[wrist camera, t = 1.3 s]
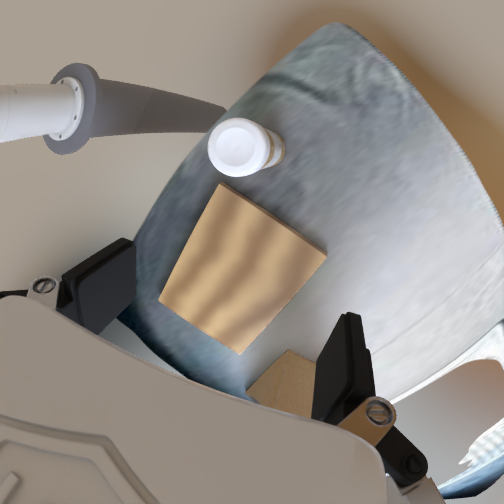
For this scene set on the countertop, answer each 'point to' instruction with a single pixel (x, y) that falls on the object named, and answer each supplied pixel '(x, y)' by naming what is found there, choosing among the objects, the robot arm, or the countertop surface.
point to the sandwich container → (286, 385)
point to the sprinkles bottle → (244, 147)
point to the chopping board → (238, 269)
